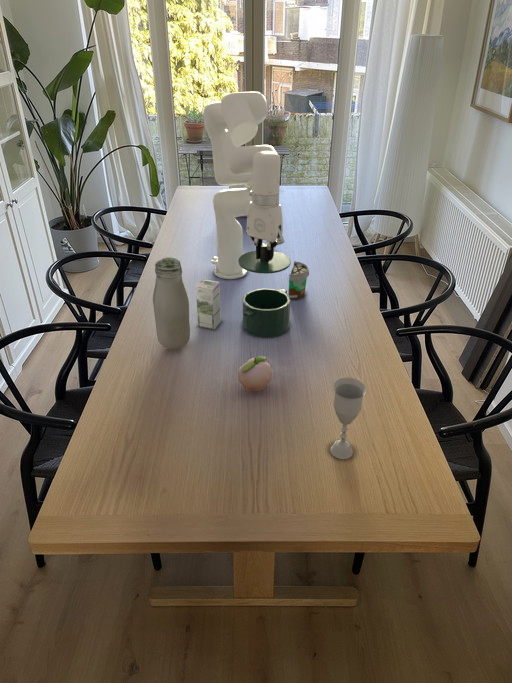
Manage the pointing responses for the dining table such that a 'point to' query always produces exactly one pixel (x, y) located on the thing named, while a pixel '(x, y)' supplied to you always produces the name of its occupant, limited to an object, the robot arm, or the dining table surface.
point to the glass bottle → (171, 304)
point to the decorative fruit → (255, 374)
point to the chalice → (346, 411)
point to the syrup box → (208, 304)
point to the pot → (266, 312)
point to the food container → (298, 280)
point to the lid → (260, 265)
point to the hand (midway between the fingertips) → (264, 258)
